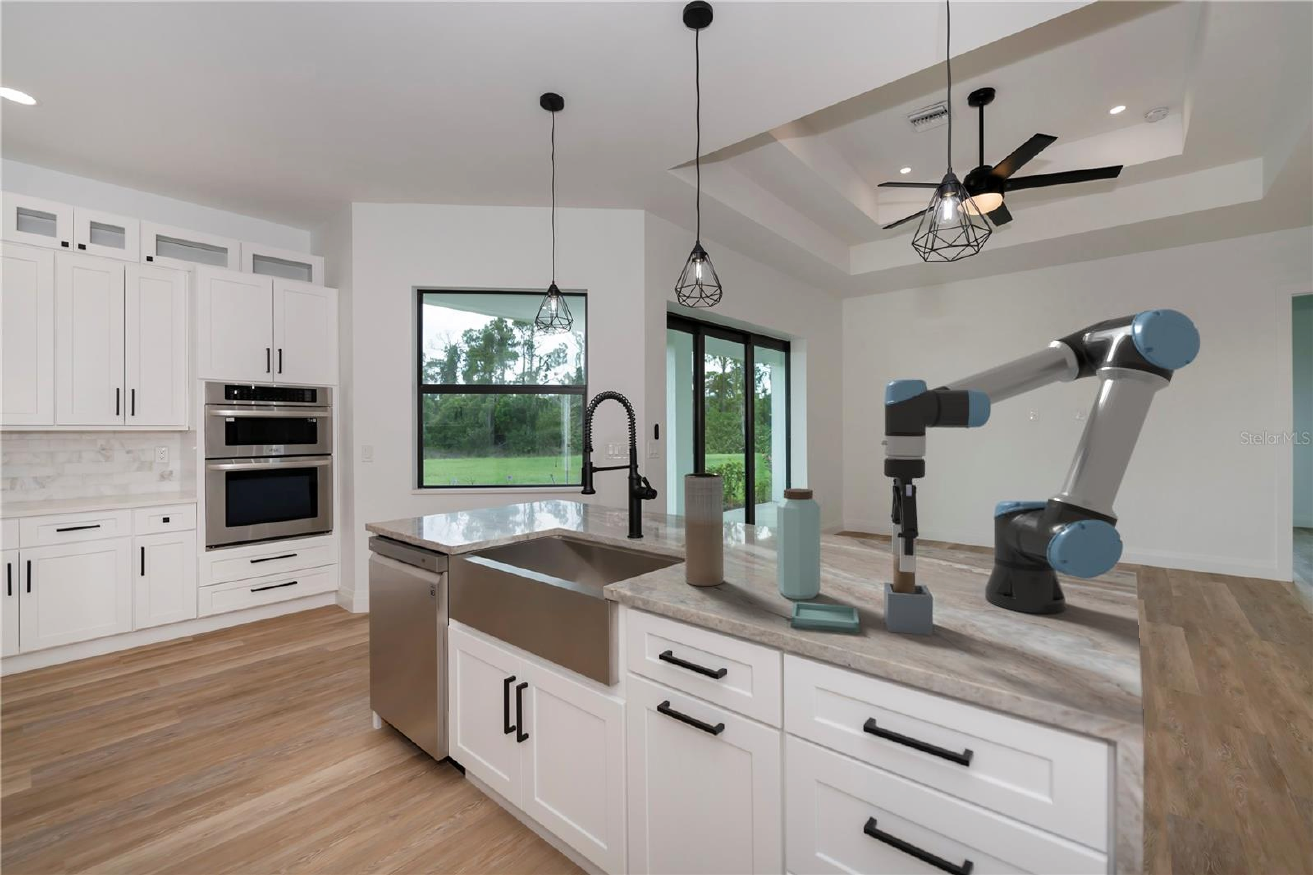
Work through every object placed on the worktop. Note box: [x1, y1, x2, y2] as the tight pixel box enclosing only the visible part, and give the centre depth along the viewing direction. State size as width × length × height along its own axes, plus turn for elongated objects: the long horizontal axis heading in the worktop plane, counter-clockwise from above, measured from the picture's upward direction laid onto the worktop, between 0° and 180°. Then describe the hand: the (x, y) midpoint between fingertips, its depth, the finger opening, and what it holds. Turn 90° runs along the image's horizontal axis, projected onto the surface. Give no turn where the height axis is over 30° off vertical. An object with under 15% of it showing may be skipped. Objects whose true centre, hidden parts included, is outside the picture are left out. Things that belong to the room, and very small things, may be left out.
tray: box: [790, 601, 860, 634], centre depth 118 cm, size 13×10×2 cm
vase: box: [683, 472, 725, 587], centre depth 148 cm, size 10×10×28 cm
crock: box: [883, 581, 934, 636], centre depth 115 cm, size 8×8×8 cm
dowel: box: [892, 555, 916, 594], centre depth 115 cm, size 4×4×14 cm
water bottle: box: [776, 487, 821, 601], centre depth 136 cm, size 10×10×25 cm
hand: (903, 563), depth 115 cm, fingers open, 13 cm apart
